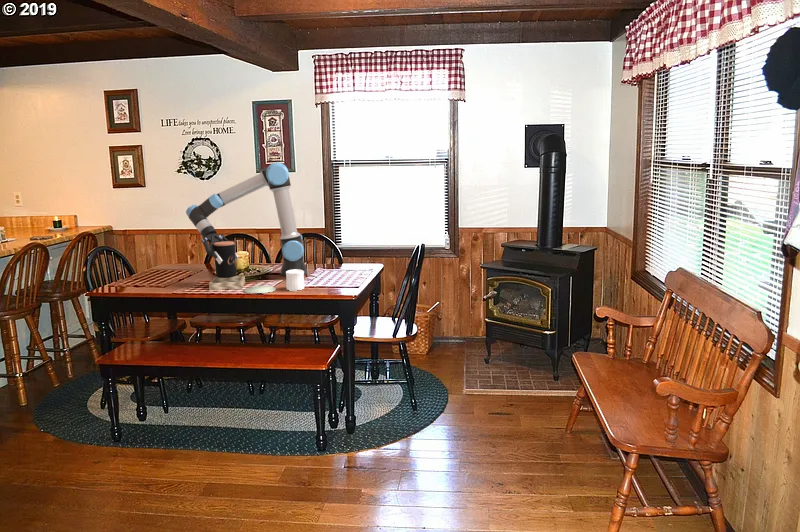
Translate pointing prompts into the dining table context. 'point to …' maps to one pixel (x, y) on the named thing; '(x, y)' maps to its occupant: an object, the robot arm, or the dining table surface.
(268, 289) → the sage mat
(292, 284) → the cup
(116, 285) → the dining table surface
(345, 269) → the dining table surface
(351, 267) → the dining table surface
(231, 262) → the coffee jar
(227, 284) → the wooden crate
